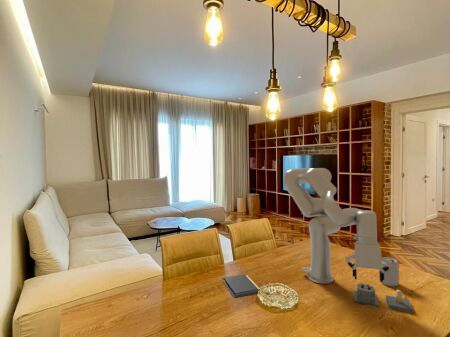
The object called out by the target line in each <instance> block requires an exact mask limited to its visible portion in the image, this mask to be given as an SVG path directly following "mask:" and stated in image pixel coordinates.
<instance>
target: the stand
mask: <svg viewBox="0 0 450 337" xmlns="http://www.w3.org/2000/svg"><path fill="white" fill-rule="evenodd" d="M363 289H365V290H368V287H367V286H364V287H363ZM353 299H354V303H355V304H360V305H366V306H371V307H375V308H380V303H379V302H380V301H379V299H378V296H377V294H376V293H375V301H373V302H366V301H362V300H361V299H359V298H357V290H353Z"/></svg>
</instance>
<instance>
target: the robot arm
mask: <svg viewBox="0 0 450 337" xmlns="http://www.w3.org/2000/svg"><path fill="white" fill-rule="evenodd" d="M331 180H332V173H331V172H330V170H329V169H327V168H325V167H317V168H313V167H312V168H311V167H308V168H307V167H306V168H303V167H302V168H292V169H289V170H287V171H286V172H285V173H284V175H283V185H284V188H285V189H286V191H287V192H288V194H289V195H290V196H291V198H292V199H293V201H294V202H295V204H296V205H297V207H298V209H299V210H300V212H301V214H302V215H303V216H304V217H306V218H312V219H310V221H309V222H308V231H309V237H310V267H305V266H302V267H301V271H302V272H303V273H304V274H307V278H308V279H309V280H310V281H311V282H314V283H315V284H316V283H317V284H321V285H328V284H332V283H334V281H335V277H334V276H333V274H332V270H331V268H332V266H331V265H332V264H331V260H332V258H331V256H332V255H331V254H332V253H331V251H332V249H331V248H332V246H331V240H330V238H329V235H331V234H336V233H338V232H339V231H340V229H341V228H344V227H348V226H349V227H350V226H354V225H356V235H353V236H352V238H353V240H356V241H355V243H354V251H353V254H351V255H348V256H346V257H345V258H344V259H345V262H346V263H347V265H348V266H349V267H350V268H351V269H352V277H354V280H357V275H358V274H357V268H365V269H372V270H373V269H374V270H379V282H380V283H382V284H383V280H384V273H385V272H386V271H387V270H389V268H390V266H391V265H392V263H391V262H390V261H388V260H386V259H384V258H383V257H382V250H381V245H380V244H379V243H378V227H377V226H378V225H377V224H378V222H377V220H378V219H377V213H376V212H375V211H373V210H367V209H365V210H364V209H359V208H356V207H348V208H343V209H342V208H341V207H340V206H339V205H338V204H337V202H336V200H335V199H334V195H336V193H337V187H336V186H335V185H334V184H333V183H332V181H331ZM301 184H308V185H310V187H311V188H312V189H313V190H314V191H315V192H316V194H317V195H318V196H319V197H313V196H311V195H310V193H309V192H308V190H307V189H305V187H304V186H302V185H301ZM351 260H354V263H352V262H351ZM382 262H384V263H386V266H385V267H383V268H382Z"/></svg>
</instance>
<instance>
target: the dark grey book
mask: <svg viewBox="0 0 450 337" xmlns="http://www.w3.org/2000/svg"><path fill="white" fill-rule="evenodd" d="M221 279H222V280H225V282H226V283H223V285H224V284H225V285H226V286H225V285H224V286H225V287H226V289H227V288H228V289H227V291H228V292H229V291H230V292H229V293H230V295H231V297H232V298H233V297H234V299H239V297H240V298H243V297H244V296H245V297H249V296H254V295H258V294H257V293H258V291H259V289H261V288H260V287H259V285H258V284H256V282H255V281H254V280H253V279H252V278H251V277H250V276H249V275H248V274H240V275H239V274H238V275H232V276H227V277H226V276H225V277H221ZM222 280H221V281H222ZM245 297H244V298H245Z"/></svg>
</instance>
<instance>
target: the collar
mask: <svg viewBox="0 0 450 337" xmlns="http://www.w3.org/2000/svg"><path fill="white" fill-rule="evenodd" d="M364 286H367V287H368V290H365V289H363V287H364ZM356 291H357V298H359V299H361V300H362V301H366V302H373V301H375V294H376V289H375V287H374V286H372V285H370V284H367V283H359V284H356Z"/></svg>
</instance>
